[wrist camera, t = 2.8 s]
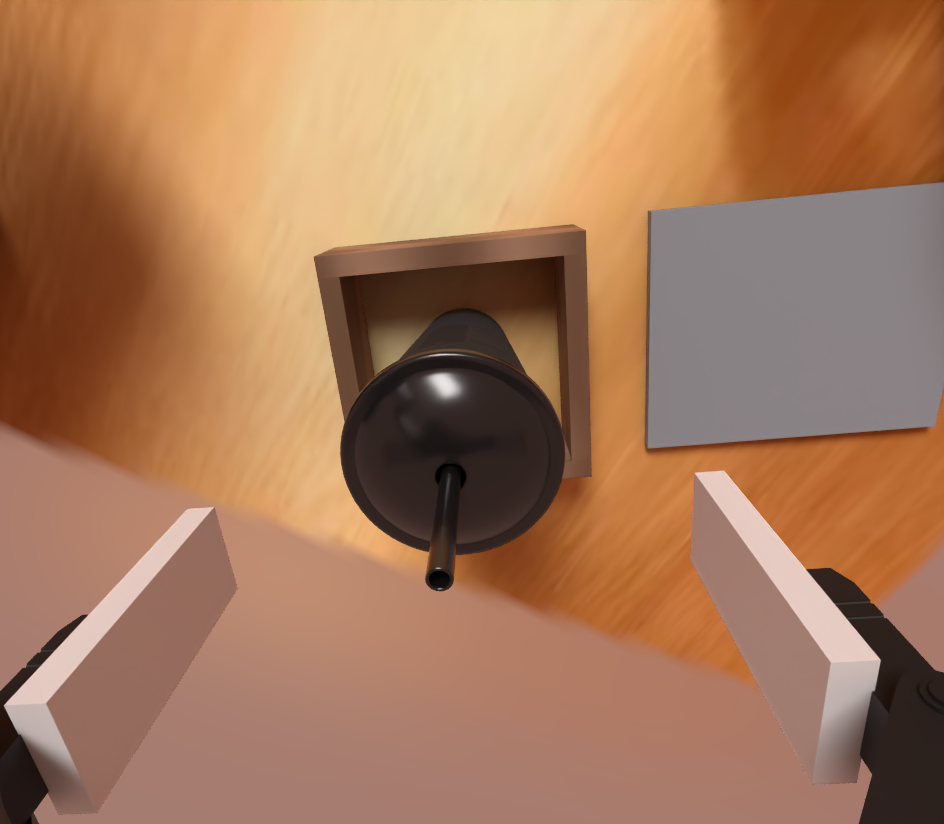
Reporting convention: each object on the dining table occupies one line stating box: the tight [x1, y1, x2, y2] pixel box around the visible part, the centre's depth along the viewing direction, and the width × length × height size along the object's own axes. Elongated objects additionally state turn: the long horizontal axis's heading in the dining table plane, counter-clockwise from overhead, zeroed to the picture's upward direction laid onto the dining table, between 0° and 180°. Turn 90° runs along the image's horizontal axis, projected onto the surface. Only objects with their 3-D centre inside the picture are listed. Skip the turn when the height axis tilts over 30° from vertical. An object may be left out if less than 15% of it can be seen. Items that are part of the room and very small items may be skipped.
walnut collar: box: [314, 225, 592, 479], centre depth 31 cm, size 12×12×4 cm
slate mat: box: [645, 182, 944, 448], centre depth 31 cm, size 16×13×1 cm
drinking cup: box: [340, 309, 565, 591], centre depth 23 cm, size 8×8×20 cm
